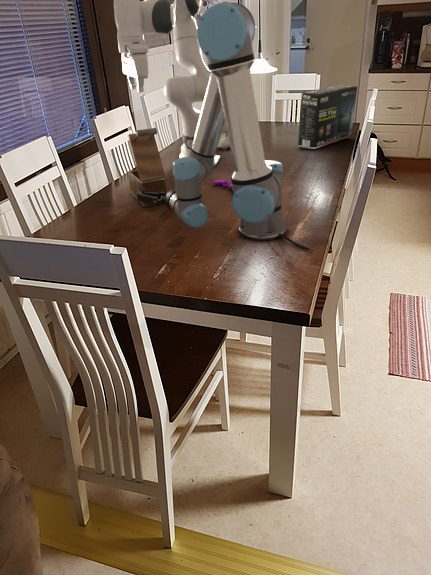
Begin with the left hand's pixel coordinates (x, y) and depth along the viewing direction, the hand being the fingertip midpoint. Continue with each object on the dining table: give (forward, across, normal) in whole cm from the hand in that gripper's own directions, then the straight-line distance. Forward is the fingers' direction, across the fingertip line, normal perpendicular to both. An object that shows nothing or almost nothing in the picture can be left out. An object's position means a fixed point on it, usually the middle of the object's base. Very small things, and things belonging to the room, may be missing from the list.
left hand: (136, 90), depth 161 cm
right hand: (+29, +17, 0) cm, 34 cm away
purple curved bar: (+40, +7, +31) cm, 51 cm away
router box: (+40, -34, +109) cm, 120 cm away
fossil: (+39, -59, +58) cm, 91 cm away
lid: (+22, +3, 0) cm, 23 cm away
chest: (+40, 0, 0) cm, 40 cm away
